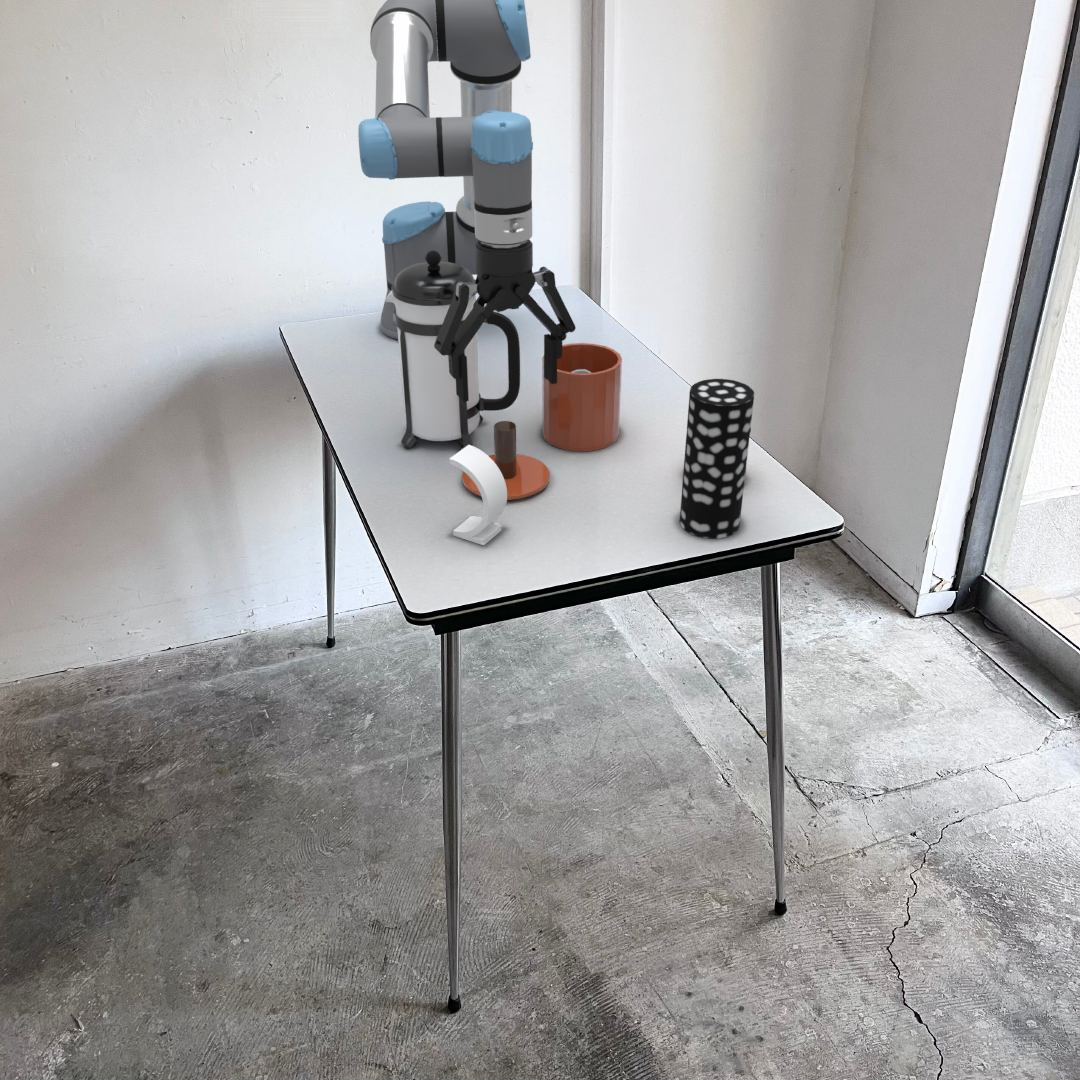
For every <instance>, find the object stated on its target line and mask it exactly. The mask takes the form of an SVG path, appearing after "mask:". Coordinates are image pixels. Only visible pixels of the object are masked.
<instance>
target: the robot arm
mask: <svg viewBox="0 0 1080 1080" xmlns="http://www.w3.org/2000/svg"><path fill="white" fill-rule="evenodd" d="M369 35H370V37H369V45H370V50H371V53H372V55H373V58H374V60H375V61H376V65H375V66H376V70H375V71H376V72H375V108H374V109H375V111H374V113H375V115H374V118H365V119H363V120H361V121H359V124H358V128H357V129H358V130H357V131H358V136H357V137H358V153H359V160H360V167H361V171H362V173H363V175H364V176H366V178H369V179H388V180H391V181H392V180H395V179H417V178H438V177H439V178H455V177H457V178H459V177H462V178H463V180H462V181H463V195H462V197H460V198H459V199H458V200H457V203H456V208H455V211H446V209H445V207H444V205H443V204H442V203H441V202H438V201H429V200H428V201H418V202H417V201H416V202H411V203H407V204H403V205H400V206H398V207H396V208H393V209H392V210H390V211H388V212H387V213H386V214H385V215H384V217H383V220H382V237H381V241H382V244H383V248H384V249H383V250H384V260H385V261H384V263H385V277H386V295H385V299H386V297H387V296H388V294H389V293H390V292H391V291H392V284H393V283H394V282H395V280H396V277H397V275H398V274H399V273H400V272H401V271H402V270H403V269H405V268H407V267H409V266H411V265H414V264H418V263H422V262H427V261H426V260H425V258H426V255H427V253H428V252H430V251H437V252H438V253H439V254H440V256H441V261H442V262H450V263H455V264H458V265H460V266H463V267H464V268H466V269H467V270H469V271H470V273H471V274H472V275H473V276H475V275H476V278H475V282H466V283H464V282H462V281H461V280H457V281H455V283H454V295H453V299H452V301H451V304H450V306H449V309H448V311H447V314H446V316H445V319H444V321H443V324H442V326H441V329H440V331H439V334H438V336H437V339H436V341H435V344H434V347H435V349H436V350H437V351H438V352H439V353H440V354H441V355H443V356H445V355H448V359H449V373H450V375H451V376H452V377H453V378H454V379H456V394H457V396H458V397H459V398H460V399H461V400H462V401H463V402H466V401H469V396H468V373H467V357H466V356H465V355H464V354H463V351H464V350H465V348H466V347H467V346H468V344H469V343H470V341H471V340H472V338H473V337H474V335H475V334H476V333H477V334H478V331H479V329H480V328H481V327H482V326H483V324H484V323H483V322H484V321H485V320H486V318H488V317H490V316H491V314H492V313H493V312H498V313H501V312H505V311H507V310H518V309H520V307H521V306H522V305H524V307H525V308H527V310H528V311H529V312H530V313H531V314H532V315H533V317H535V318H536V319H537V321H539V323H541V325H542V326H543V327H544V328H545V329H546V330H547V331H548V332H549V333H545V334H543V356H544V378H546V379H547V380H548V381H549V382H550V383H551V384H556V383H557V359H561V357H562V345H563V341H565V340H566V339H567V334H568V333H574V332H575V331H576V325H575V322H574V320H573V318H572V316H571V314H570V312H569V311H568V309H567V307H566V305H565V302H564V300H563V299H562V296H561V294H560V292H559V291H558V288H557V285H556V277H555V272H554V271H551V269H549V268H548V267H546V266H541V267H540V268H539V270H538V271H534V272H533V267H534V257H533V256H534V255H533V254H534V253H533V252H534V251H533V249H534V248H533V247H534V246H533V245H534V244H533V242H532V240H530V239H531V238H532V237H533V200H532V189H533V188H532V186H533V149H534V141H533V136H532V123H531V121H530V118H528V116H527V115H524V114H521V113H518V112H513V103H512V102H513V80H515V79H516V78H517V77H518V76H519V75H520V73H521V70H522V62H526V61H529V60H530V59H531V58H532V57H531V56H532V54H531V44H530V43H531V42H530V35H529V27H528V19H527V11H526V4H525V0H386V1H384V2H383V4H382V6H381V7H380V8H379V9H378V11H377V13H376V15H375V16H374V18H373V21H372V24H371V26H370V33H369ZM430 62H438V63H443V62H445V63H446V62H447V63H448V62H449V67H450V71H451V73H452V75H453V76H454V77H455V78H456V79H458V80H459V84H460V87H459V88H460V116H445V117H441V116H435V117H431V115H430V113H431V112H430V89H429V87H430V85H429V66H428V65H429V63H430ZM535 284H537V285H538V286H539V287H541V289H542V291H543V293H544V295H545V297H546V299H547V301H548V303H549V305H550V307H551V309H552V311H553V313H554V315H555V316H556V319H557V320H558V323H556V322H555V321H554V320H553V319H552V318H551V316H549V314H548V313H547V312H546V311H545V310H544V309H543V308H542V307H541V306H540V305H539V304H538V302H537V301H536V300H535V299H534V298H533V297H532V296H531V294H530V293H531V291H532V290H533V288H534V286H535ZM474 292H477V295H478V297H476V301H475V303H474V305H473V309H472V310H471V312H470V313H469V315H468V316H467V318H466V319H465V320H464V322H463V323H462V325H461V326H460V328H459V325H460V323H461V321H462V318H463V316H464V313H465V311H466V308H467V305H468V301H469V299H471V298H472V295H473V293H474ZM385 299H384V300H385ZM395 308H396V307H395V304H394V303H392V302H385V301H384V302H383V306H382V310H381V315H380V329H381V332H382V333H383V334H384V335H385V336H387V337H389V338H391V339H394V340H398V330H397V326H396V323H395ZM458 328H459V329H458ZM457 330H458V331H457Z"/></svg>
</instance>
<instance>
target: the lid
mask: <svg viewBox="0 0 1080 1080" xmlns="http://www.w3.org/2000/svg"><path fill="white" fill-rule="evenodd" d="M493 445H494V446H493V448H494V450H493V451H494V454H487V455H488V456H489V457H490V458H491V459H492V460H493V461H494V463H495V464H496V465H497V467H498V468H499V470H500V471H501V473H502V475H503V477H504V480H505V483H506V488H507V501H509V500H518V499H524V498H528V497H530V496H533V495H535V494H537V493H539V492H542V491H543V490H544V489H545V488H546V487H547V486H548V484H549V482H550V477H551V476H550V474H551V472H550V470H549V468H548V466H547V465H546V464H545V463H544V462H542V461H541V460H540V459H537V458H536V457H532V456H529V455H526V454H520V453H517V425H516V423H515V422H514V421H509V420H501V421H497V422H495V423H494V425H493ZM461 480H462V483H463V486H464V487H465V488H466V489H467V490H468V491H470V492H471V493H473V494H474V495H476V496H479V497H482V496H481V494H480V491H479V489H478V487H477V486H476V484H475V483H474V481H473V480H472V479H471V478H470V477H469V476H468V475H467V474H466V473H465V472H464V471H462V474H461Z"/></svg>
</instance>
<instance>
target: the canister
mask: <svg viewBox="0 0 1080 1080" xmlns="http://www.w3.org/2000/svg"><path fill="white" fill-rule="evenodd" d="M583 369H585V370H588V371H590V372H591V373H571V372H572V371H575V370H583ZM622 370H623V358H622V356H621V354H620V352H618V351H617V350H615V348H611V347H608V346H606V345H603V344H602V345H601V344H597V343H588V342H576V343H574V342H573V343H567V344H562V357H561V359H557V383H556V384H551V383H550V382H549V381H548V380H547V379H546V378H544V355H543V356H542V358H541V373H542V374H541V379H542V380H541V382H542V383H541V385H542V388H541V389H542V390H541V396H542V399H541V400H542V402H541V404H542V405H541V406H542V407H541V409H542V411H541V414H542V415H541V416H542V418H541V419H542V424H541V425H542V428H541V429H542V436H543V438H544V440H545V441H546V442H547V443H548V444H550V445H551V446H553V447H555V448H558V449H561V450H565V451H570V452H593V451H598V450H599V451H600V450H603V449H605V448H608V447H609V446H612V445H613V444H614V443H615V442H617V440H618V439H619V435H620V423H621V399H622V396H621V395H622V377H623V376H622V375H623V374H622V373H623V371H622Z"/></svg>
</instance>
